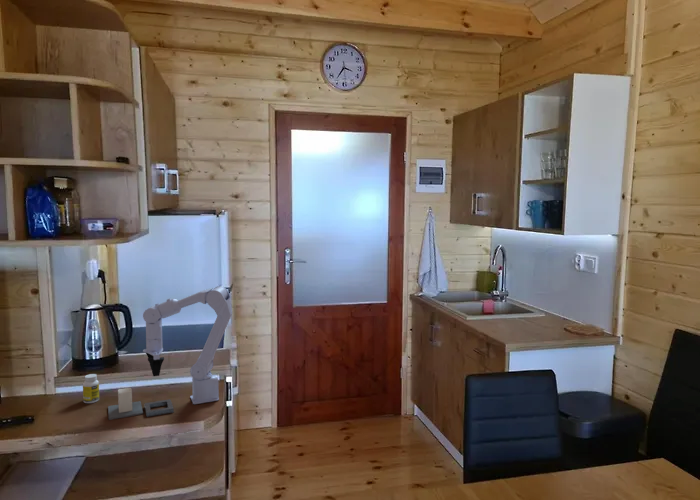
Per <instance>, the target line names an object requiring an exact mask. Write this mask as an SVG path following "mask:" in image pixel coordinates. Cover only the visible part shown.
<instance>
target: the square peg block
mask: <svg viewBox="0 0 700 500" xmlns="http://www.w3.org/2000/svg"><path fill="white" fill-rule="evenodd" d="M117 400H118V404H117V405H119V413H121V412H127V411H133V410H132V402H133V390H132V387H126V388H125V387H124V388H119V389H117Z"/></svg>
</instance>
